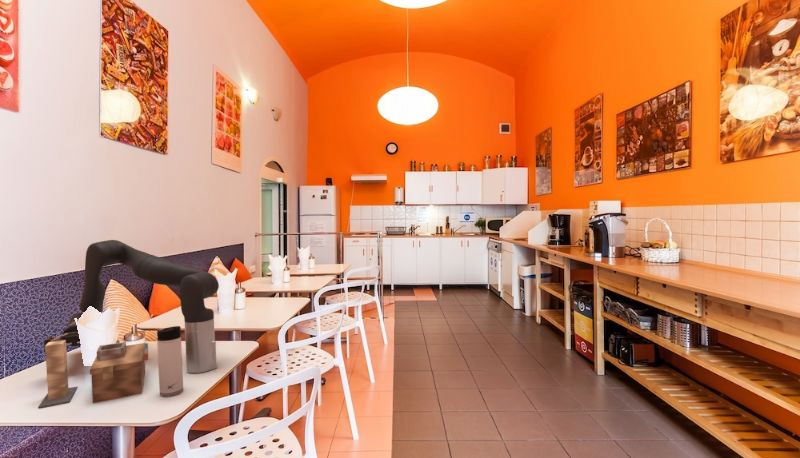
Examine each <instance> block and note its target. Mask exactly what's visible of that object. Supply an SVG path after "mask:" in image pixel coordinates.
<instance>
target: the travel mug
mask: <svg viewBox="0 0 800 458" xmlns="http://www.w3.org/2000/svg"><path fill="white" fill-rule="evenodd" d="M181 330H182V329H181V326H179V325H177V326H175V325H174V326H169V327H165V328H163V329H162V330H161V329H160V330H157V331H156V336H157V343H156V344H157V363H158V382H159V383H158V384H159V396H161V397H164V398H165V397H169V398H170V397H174V396H176V395H179V394H181V393H182V392H183V391H184V379H183V378H184V374H183V372H184V371H183V353H182V351H183V350H182V335H181Z"/></svg>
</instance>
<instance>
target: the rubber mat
mask: <svg viewBox="0 0 800 458" xmlns="http://www.w3.org/2000/svg"><path fill="white" fill-rule="evenodd" d="M68 388H69V392H68V394H67V396H66V397H63V398H58V399H52V400H48V392H47V393H46V395H45V396H44V397H43V399H42V401H41V402H40V404H39V405H38V407H37V409H38V408H39V409H45V408H50V407H54V406H60V405H65V404H70V403H71V402H72V399H73V397H74V396H75V394H76V391H77V390H78V388H79V387H78V386H73V387H72V386H71V387H68Z"/></svg>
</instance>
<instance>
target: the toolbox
mask: <svg viewBox="0 0 800 458" xmlns="http://www.w3.org/2000/svg"><path fill="white" fill-rule="evenodd" d="M145 343H146V342H142V343H135V344H130V345H129V344H128V345H127V342H126V341H124V342H123V341H122V342H116V343H110V344H101V345H99V347H98V349H97V351H96V357H95V359H94V361H93V362H92V364H91V366H90V368H89V375H91V393H92V394H91V395H92V404H96V403H100V402H101V403H102V402H106V401H110V400H111V401H112V400H116V399H122V398H127V397H132V396H137V395H142V394H143V389H144V384H145V378H146V377H145V376H146V361H145V353H144V351H145Z"/></svg>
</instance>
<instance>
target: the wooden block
mask: <svg viewBox="0 0 800 458" xmlns="http://www.w3.org/2000/svg"><path fill="white" fill-rule="evenodd" d="M44 349H45V366H46V383H47V385H46V386H47V393H48V400H52V399H58V398H63V397H66V396H67V394H68V392H69V388H70V387H69V375H68V370H69V369H68V356H67V352H68V351H67V345H66V340H62V341H54V342H49V343H48V344H47V345H46V346H45V348H44Z"/></svg>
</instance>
